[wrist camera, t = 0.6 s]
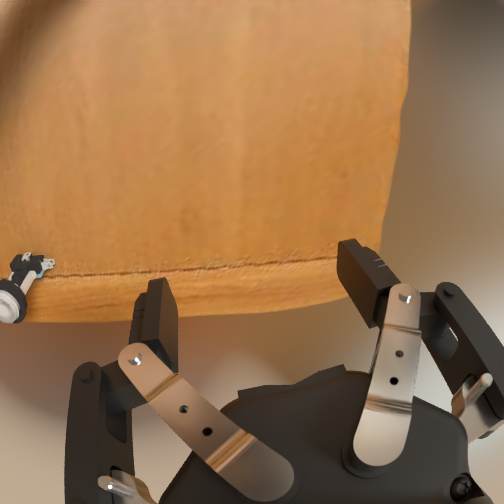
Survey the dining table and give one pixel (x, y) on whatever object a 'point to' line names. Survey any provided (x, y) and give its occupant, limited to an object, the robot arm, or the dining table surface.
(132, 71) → the dining table surface
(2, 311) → the push button
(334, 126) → the dining table surface
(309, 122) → the dining table surface
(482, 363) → the robot arm
